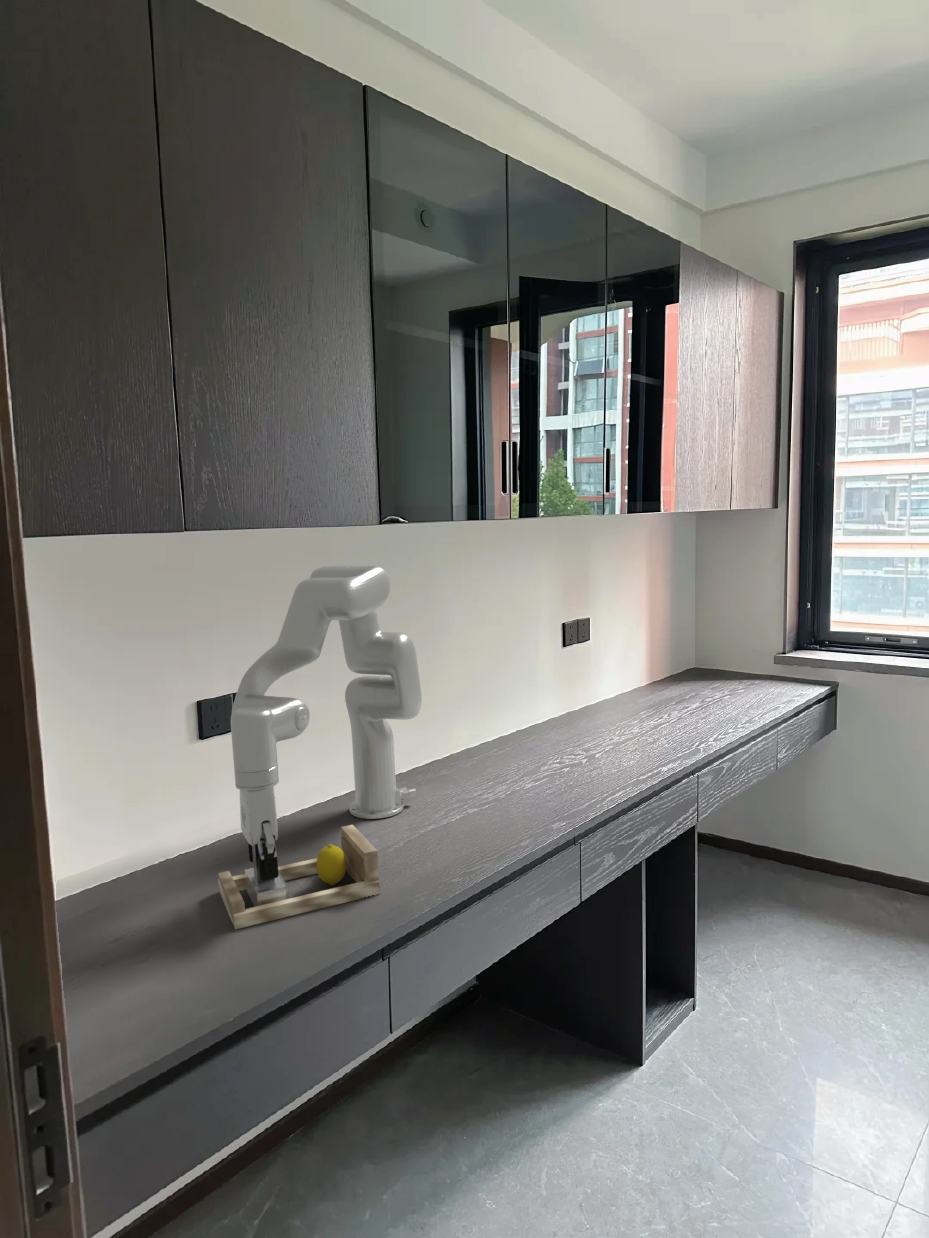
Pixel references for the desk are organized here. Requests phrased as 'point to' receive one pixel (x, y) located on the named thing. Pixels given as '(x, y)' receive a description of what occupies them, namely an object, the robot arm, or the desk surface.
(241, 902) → the press frame
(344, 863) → the lemon
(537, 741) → the desk surface
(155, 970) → the desk surface
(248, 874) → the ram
